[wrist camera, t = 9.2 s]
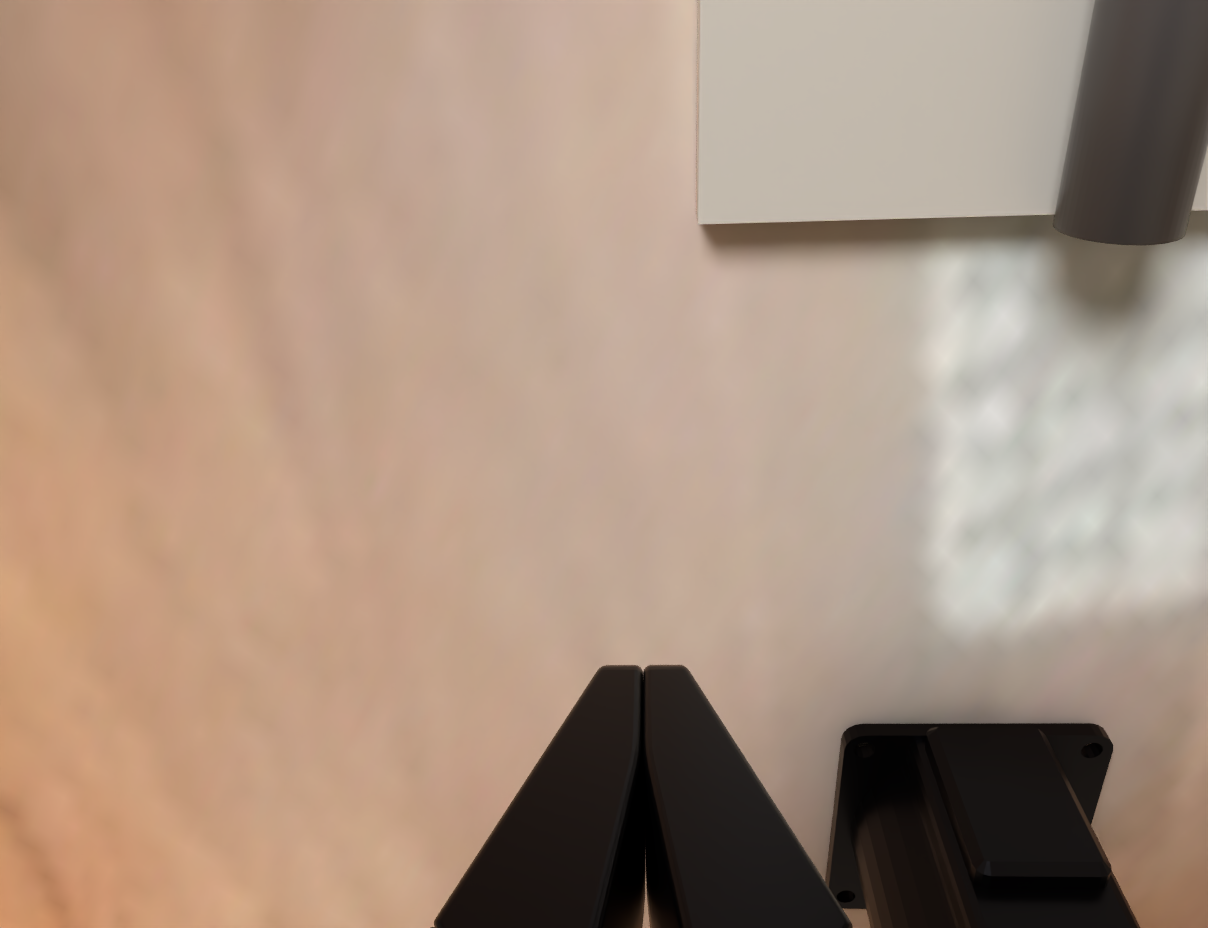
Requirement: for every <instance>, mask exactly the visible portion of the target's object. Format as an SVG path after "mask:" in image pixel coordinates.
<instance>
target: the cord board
mask: <svg viewBox="0 0 1208 928" xmlns="http://www.w3.org/2000/svg"><path fill="white" fill-rule="evenodd" d="M1198 210H1208V0H698V16H697V135H696V217H697V222H698V224H730V223H766V222H802V221H838V220H874V219H910V218H946V217H982V216H1018V215H1054V214H1055V215H1054V221H1053V227H1054V228H1055V229H1056V230H1058V231H1059V232H1061V233H1063V234H1066V235H1069V236H1072V237H1075V238H1079V239H1083V240H1088V241H1094V242H1100V243H1109V244H1120V245H1155V244H1164V243H1170V242H1174V241H1177V240H1180V239H1182V238H1183V237H1184V236H1185V233H1186V229H1187V225H1188V221H1189V217H1190V213H1191V211H1198Z"/></svg>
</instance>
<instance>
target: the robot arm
mask: <svg viewBox="0 0 1208 928" xmlns="http://www.w3.org/2000/svg"><path fill="white" fill-rule="evenodd" d="M862 743H868V744H867V745H864V746H858V745H859V744H862ZM1090 743H1092V744H1090ZM1087 744H1090V745H1087ZM1085 745H1087V746H1085ZM1112 752H1113V744H1112V742H1111V740H1110V739H1109V737H1108V735H1107V733H1106V732H1105V730H1104V729H1103V728H1102V727H1100V726H1099V725H1096V724H858V725H854V726H852V727H850V728H848V729H847V730H846V731H845V732H844V733H843V735H842V738H841V745H840V754H839V764H838V773H837V782H836V791H835V800H834V809H833V818H832V827H831V836H830V845H829V854H828V863H827V872H826V881H824V880H823V878H822V876H821V875H820V873H819V872H818V870H817V869H816V867H815V866H814V864H813V862H812V861H811V859H810V858H809V856H808V855H807V853H806V852H805V850H804V848H803V847H802V845H801V844H800V842H799V841H798V839H797V838H796V836H795V834H794V833H793V831H792V830H791V828H790V827H789V825H788V824H787V822H786V820H785V819H784V817H783V816H782V814H781V813H780V811H779V810H778V808H777V806H776V805H775V803H774V802H773V800H772V799H771V797H770V796H769V794H768V793H767V791H766V789H765V788H764V786H763V785H762V783H761V782H760V780H759V779H758V777H757V775H756V774H755V772H754V771H753V769H752V768H751V766H750V765H749V763H748V761H747V760H746V758H745V757H744V755H743V754H742V752H741V751H740V749H739V747H738V746H737V744H736V743H735V741H734V740H733V738H732V737H731V735H730V733H729V732H728V730H727V729H726V727H725V726H724V724H723V723H722V721H721V719H720V718H719V716H718V715H717V713H716V712H715V710H714V709H713V707H712V706H711V704H710V702H709V701H708V699H707V698H706V696H705V695H704V693H703V692H702V690H701V688H700V687H699V685H698V684H697V682H696V681H695V679H694V678H693V676H692V674H691V673H690V671H689V670H688V669H687V668H686V667H684V666H682V665H649V666H647V667H646V668H645V669H644V673H643V671H642V669H641V668H640V667H639V666H637V665H606V666H602V667H601V668H599V670H598V671H597V672H596V674H595V675H594V677H593V678H592V680H591V681H590V683H589V684H588V686H587V687H586V689H585V690H584V692H583V694H582V695H581V697H580V698H579V700H578V701H577V703H576V704H575V706H574V707H573V709H572V710H571V712H570V713H569V715H568V716H567V718H566V720H565V721H564V723H563V724H562V726H561V727H560V729H559V730H558V732H557V733H556V735H555V736H554V738H553V739H552V741H551V743H550V744H549V746H548V747H547V749H546V750H545V752H544V753H543V755H542V756H541V758H540V759H539V761H538V762H537V764H536V766H535V767H534V769H533V770H532V772H531V773H530V775H529V776H528V778H527V779H526V781H525V782H524V784H523V785H522V787H521V788H520V790H519V792H518V793H517V795H516V796H515V798H514V799H513V801H512V802H511V804H510V805H509V807H508V808H507V810H506V811H505V813H504V815H503V816H502V818H501V819H500V821H499V822H498V824H497V825H496V827H495V828H494V830H493V831H492V833H491V834H490V836H489V837H488V839H487V841H486V842H485V844H484V845H483V847H482V848H481V850H480V851H479V853H478V854H477V856H476V857H475V859H474V860H473V862H472V864H471V865H470V867H469V868H468V870H467V871H466V873H465V874H464V876H463V877H462V879H461V880H460V882H459V883H458V885H457V887H456V888H455V890H454V891H453V893H452V894H451V896H450V897H449V899H448V900H447V902H446V903H445V905H444V906H443V908H442V909H441V911H440V913H439V914H438V916H437V917H436V919H435V921H434V926H435V927H431V928H642V925H643V914H644V903H645V875H646V882H647V902H648V912H649V922H650V928H852V923H851V921H850V920H849V918H848V917H847V915H846V914H845V912H844V911H843V909H842V908H848V909H867V913H868V917H869V922H870V926H871V928H1140V926H1139V924H1138V922H1137V920H1136V918H1135V916H1134V914H1133V912H1132V910H1131V908H1130V906H1129V904H1128V902H1127V900H1126V898H1125V896H1124V894H1123V892H1122V890H1121V888H1120V886H1119V884H1118V882H1117V880H1116V878H1115V876H1114V874H1113V872H1112V870H1111V864H1110V863H1109V861H1108V859H1107V857H1106V855H1105V853H1104V851H1103V849H1102V847H1101V845H1100V843H1099V841H1098V839H1097V837H1096V835H1095V833H1094V831H1093V829H1092V827H1091V822H1092V819H1093V816H1094V812H1095V809H1096V806H1097V802H1098V799H1099V796H1100V792H1101V789H1102V785H1103V782H1104V779H1105V775H1106V772H1107V769H1108V765H1109V762H1110V759H1111V755H1112ZM645 849H646V865H645Z"/></svg>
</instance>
